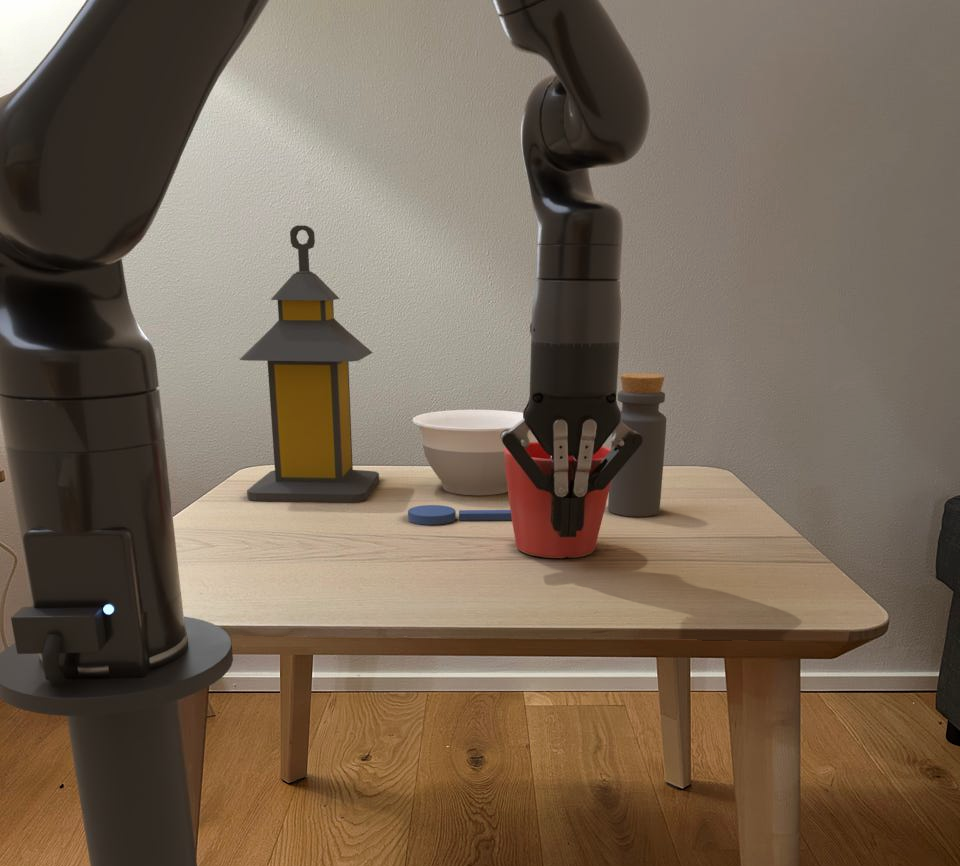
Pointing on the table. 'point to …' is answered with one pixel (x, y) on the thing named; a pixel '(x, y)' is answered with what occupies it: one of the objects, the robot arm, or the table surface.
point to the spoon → (452, 515)
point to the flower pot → (535, 509)
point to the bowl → (468, 448)
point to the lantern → (310, 394)
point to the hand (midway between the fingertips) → (566, 535)
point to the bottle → (643, 472)
